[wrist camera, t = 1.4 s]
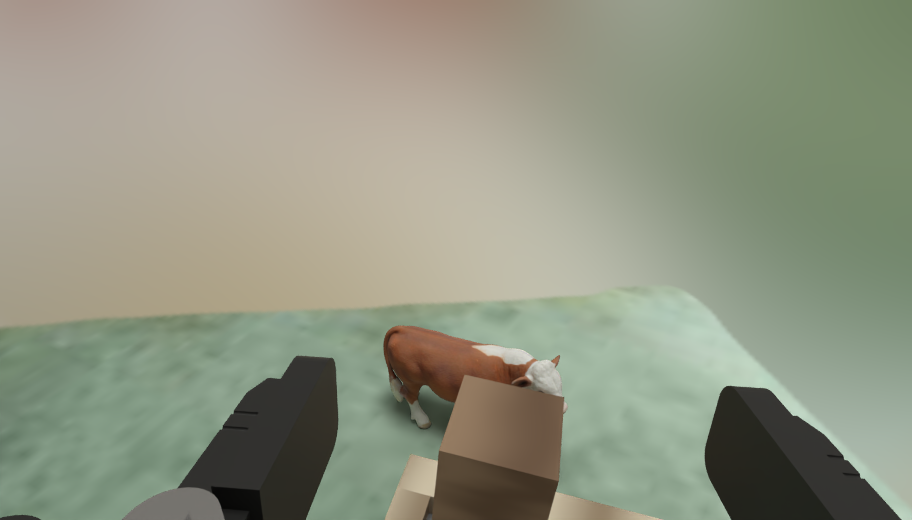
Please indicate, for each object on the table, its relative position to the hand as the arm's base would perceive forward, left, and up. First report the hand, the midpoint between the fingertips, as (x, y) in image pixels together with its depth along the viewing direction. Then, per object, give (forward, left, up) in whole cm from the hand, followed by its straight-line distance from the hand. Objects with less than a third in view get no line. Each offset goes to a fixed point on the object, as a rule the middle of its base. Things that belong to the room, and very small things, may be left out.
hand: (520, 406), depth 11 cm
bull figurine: (+5, +19, -21) cm, 28 cm away
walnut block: (+3, +7, -20) cm, 21 cm away
